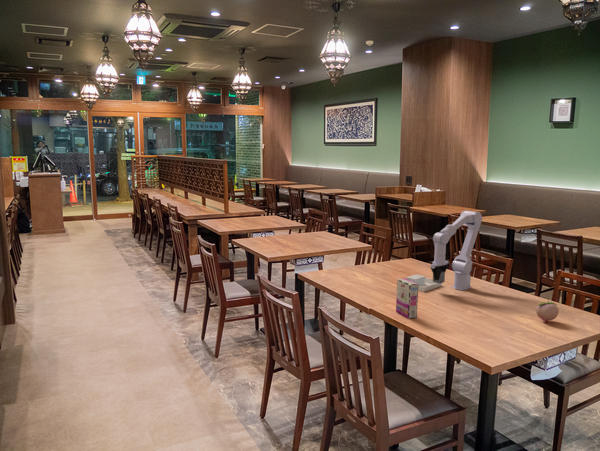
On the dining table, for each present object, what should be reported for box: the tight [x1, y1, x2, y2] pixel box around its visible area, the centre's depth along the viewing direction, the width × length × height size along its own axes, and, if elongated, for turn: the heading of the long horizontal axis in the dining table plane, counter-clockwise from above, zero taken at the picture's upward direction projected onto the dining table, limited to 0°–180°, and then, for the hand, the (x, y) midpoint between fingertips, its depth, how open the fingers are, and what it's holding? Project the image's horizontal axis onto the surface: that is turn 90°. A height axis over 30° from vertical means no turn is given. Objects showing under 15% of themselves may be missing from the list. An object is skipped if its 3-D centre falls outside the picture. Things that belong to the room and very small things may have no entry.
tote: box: [418, 277, 443, 293], centre depth 274 cm, size 18×16×3 cm
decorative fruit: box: [535, 301, 559, 323], centre depth 218 cm, size 9×8×10 cm
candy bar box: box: [395, 278, 419, 320], centre depth 226 cm, size 11×5×16 cm, turn 21°
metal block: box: [432, 271, 446, 284], centre depth 262 cm, size 4×4×6 cm
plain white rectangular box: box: [405, 274, 426, 286], centre depth 276 cm, size 10×6×5 cm, turn 133°
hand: (438, 279), depth 262 cm, fingers closed on metal block, 4 cm apart
